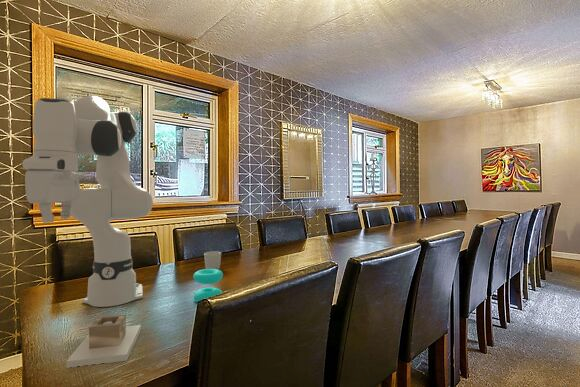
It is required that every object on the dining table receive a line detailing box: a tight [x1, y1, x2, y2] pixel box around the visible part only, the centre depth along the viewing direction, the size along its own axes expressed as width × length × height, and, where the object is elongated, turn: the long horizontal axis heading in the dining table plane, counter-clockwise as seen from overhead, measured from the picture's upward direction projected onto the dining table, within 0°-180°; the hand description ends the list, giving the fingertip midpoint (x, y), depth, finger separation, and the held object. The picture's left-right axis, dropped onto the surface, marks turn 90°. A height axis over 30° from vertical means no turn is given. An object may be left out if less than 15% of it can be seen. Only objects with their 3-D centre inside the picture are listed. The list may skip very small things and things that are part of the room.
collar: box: [88, 314, 127, 349], centre depth 79 cm, size 6×6×5 cm
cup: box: [203, 250, 222, 270], centre depth 154 cm, size 11×8×8 cm
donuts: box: [192, 268, 224, 303], centre depth 112 cm, size 10×10×10 cm
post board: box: [65, 321, 142, 369], centre depth 79 cm, size 16×12×6 cm
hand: (57, 220), depth 80 cm, fingers open, 8 cm apart
